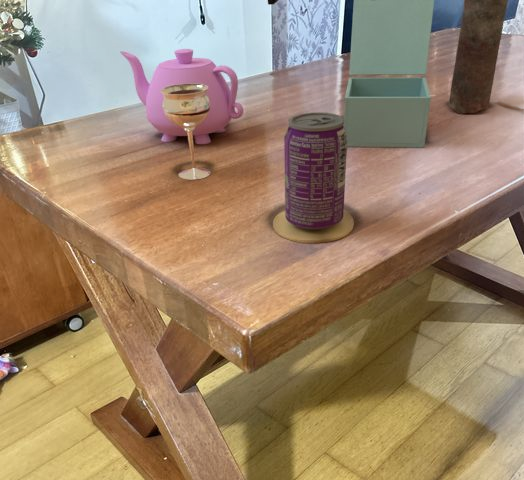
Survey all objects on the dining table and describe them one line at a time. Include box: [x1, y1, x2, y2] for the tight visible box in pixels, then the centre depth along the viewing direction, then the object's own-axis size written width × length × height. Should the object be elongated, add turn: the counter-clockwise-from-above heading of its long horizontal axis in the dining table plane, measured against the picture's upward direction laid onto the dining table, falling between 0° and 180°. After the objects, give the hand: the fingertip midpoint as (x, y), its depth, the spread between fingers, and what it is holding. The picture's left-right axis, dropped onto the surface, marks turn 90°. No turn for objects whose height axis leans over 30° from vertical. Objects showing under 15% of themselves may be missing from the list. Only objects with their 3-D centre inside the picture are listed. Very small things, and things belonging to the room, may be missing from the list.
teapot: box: [119, 48, 244, 145], centre depth 94 cm, size 22×16×14 cm
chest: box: [343, 76, 432, 149], centre depth 92 cm, size 14×13×8 cm
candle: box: [448, 0, 509, 115], centre depth 98 cm, size 8×7×20 cm
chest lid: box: [348, 0, 435, 76], centre depth 94 cm, size 15×13×4 cm
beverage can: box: [283, 111, 348, 230], centre depth 63 cm, size 7×7×12 cm
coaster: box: [272, 210, 355, 244], centre depth 67 cm, size 10×10×1 cm
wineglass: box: [161, 83, 212, 181], centre depth 79 cm, size 7×7×12 cm
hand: (322, 0), depth 53 cm, fingers open, 9 cm apart
